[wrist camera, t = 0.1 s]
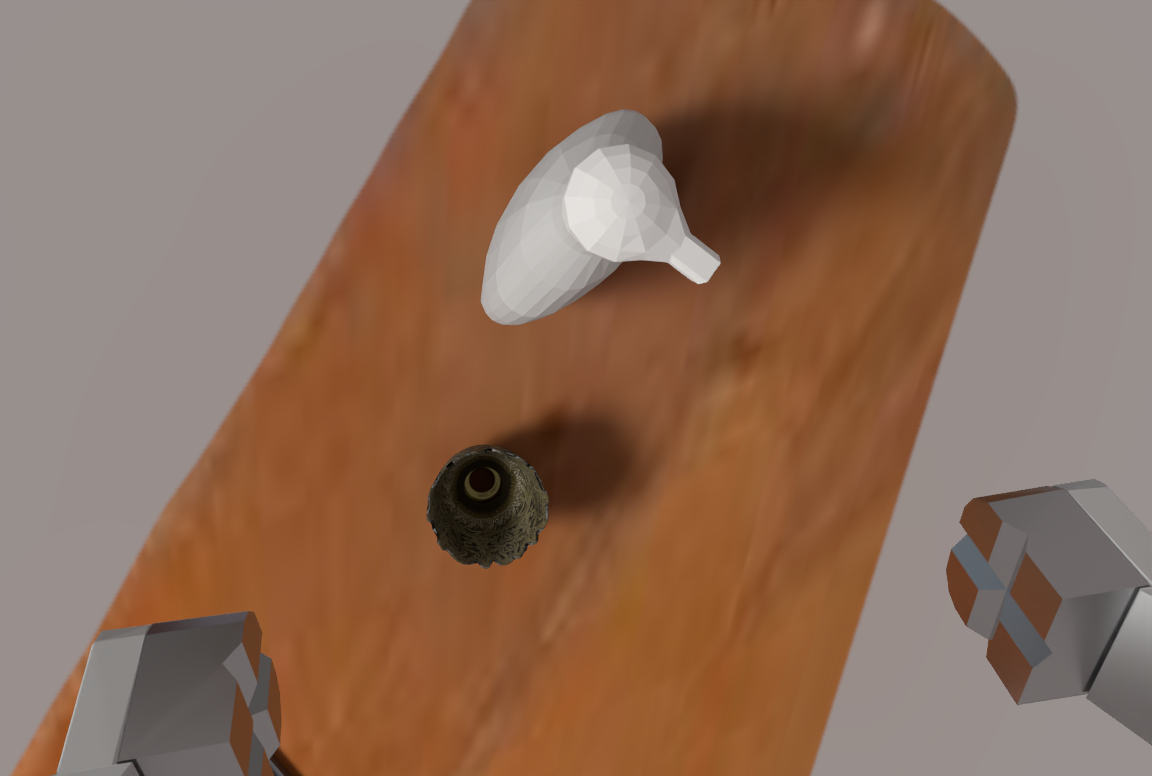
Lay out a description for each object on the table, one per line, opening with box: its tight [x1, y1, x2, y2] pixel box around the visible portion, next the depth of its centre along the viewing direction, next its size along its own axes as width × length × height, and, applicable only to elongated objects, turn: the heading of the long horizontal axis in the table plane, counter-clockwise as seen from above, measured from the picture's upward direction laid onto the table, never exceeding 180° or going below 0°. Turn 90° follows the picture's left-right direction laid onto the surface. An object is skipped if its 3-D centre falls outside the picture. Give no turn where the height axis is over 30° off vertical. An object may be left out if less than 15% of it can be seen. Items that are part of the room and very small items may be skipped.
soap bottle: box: [481, 109, 721, 325], centre depth 51 cm, size 14×8×27 cm, turn 144°
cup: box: [427, 445, 549, 569], centre depth 62 cm, size 8×7×8 cm
